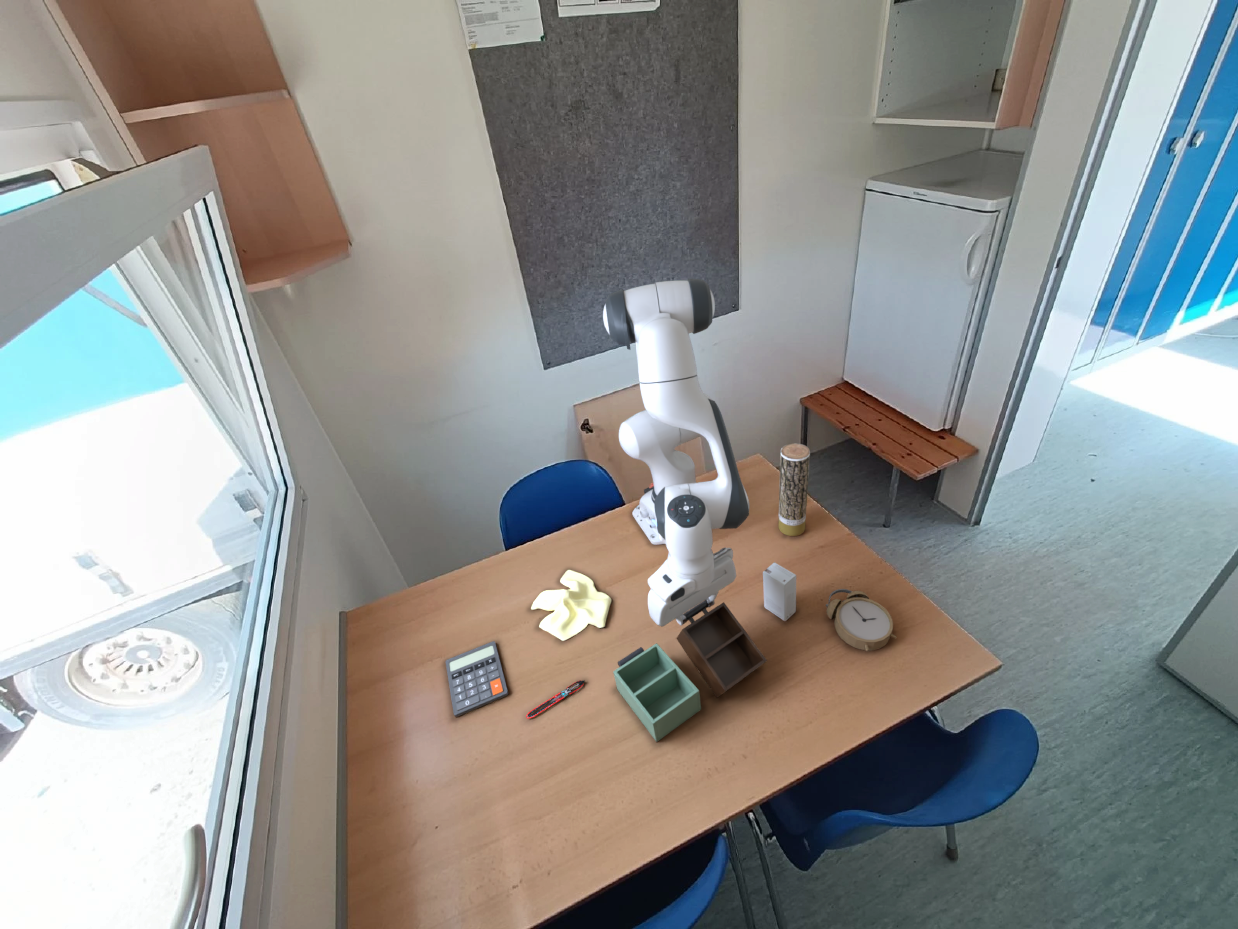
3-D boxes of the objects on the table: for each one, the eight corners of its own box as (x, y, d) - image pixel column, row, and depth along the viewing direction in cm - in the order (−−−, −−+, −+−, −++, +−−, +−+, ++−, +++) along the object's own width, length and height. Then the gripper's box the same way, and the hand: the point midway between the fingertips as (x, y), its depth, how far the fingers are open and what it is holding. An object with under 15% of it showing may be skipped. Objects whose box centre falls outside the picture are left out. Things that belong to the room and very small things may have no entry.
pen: (524, 715, 116) (523, 713, 116) (582, 678, 121) (582, 676, 121) (528, 722, 115) (527, 720, 114) (587, 684, 120) (586, 683, 119)
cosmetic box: (796, 611, 128) (798, 574, 121) (784, 623, 126) (785, 585, 119) (774, 597, 132) (775, 560, 125) (762, 608, 130) (762, 571, 123)
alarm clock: (861, 651, 114) (816, 593, 124) (855, 662, 117) (812, 605, 128) (906, 630, 116) (858, 575, 126) (899, 642, 120) (853, 587, 130)
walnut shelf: (757, 668, 117) (767, 660, 112) (716, 698, 113) (725, 691, 108) (708, 601, 124) (715, 590, 119) (668, 627, 120) (674, 617, 115)
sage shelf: (701, 709, 112) (699, 690, 108) (656, 742, 108) (652, 723, 104) (652, 653, 124) (649, 634, 120) (610, 680, 120) (605, 662, 116)
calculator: (453, 715, 117) (445, 659, 129) (455, 717, 118) (446, 662, 130) (507, 692, 120) (494, 640, 132) (508, 694, 120) (495, 642, 132)
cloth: (623, 620, 133) (619, 602, 129) (549, 653, 128) (543, 636, 124) (589, 561, 150) (585, 544, 146) (523, 589, 145) (517, 572, 142)
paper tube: (809, 526, 149) (815, 448, 135) (796, 541, 145) (801, 462, 131) (786, 517, 153) (789, 440, 139) (773, 531, 150) (775, 453, 135)
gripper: (721, 535, 116) (723, 580, 125) (640, 583, 109) (647, 628, 117) (742, 552, 112) (743, 597, 120) (659, 604, 105) (665, 648, 113)
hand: (695, 613), depth 119 cm, fingers closed on walnut shelf, 6 cm apart
